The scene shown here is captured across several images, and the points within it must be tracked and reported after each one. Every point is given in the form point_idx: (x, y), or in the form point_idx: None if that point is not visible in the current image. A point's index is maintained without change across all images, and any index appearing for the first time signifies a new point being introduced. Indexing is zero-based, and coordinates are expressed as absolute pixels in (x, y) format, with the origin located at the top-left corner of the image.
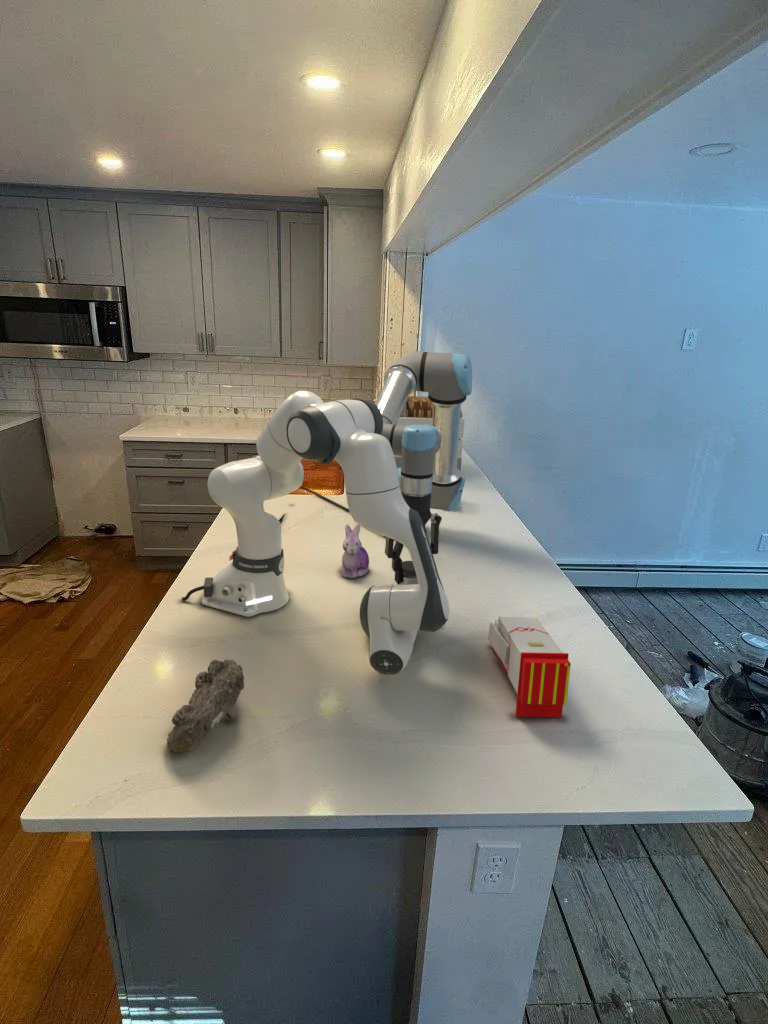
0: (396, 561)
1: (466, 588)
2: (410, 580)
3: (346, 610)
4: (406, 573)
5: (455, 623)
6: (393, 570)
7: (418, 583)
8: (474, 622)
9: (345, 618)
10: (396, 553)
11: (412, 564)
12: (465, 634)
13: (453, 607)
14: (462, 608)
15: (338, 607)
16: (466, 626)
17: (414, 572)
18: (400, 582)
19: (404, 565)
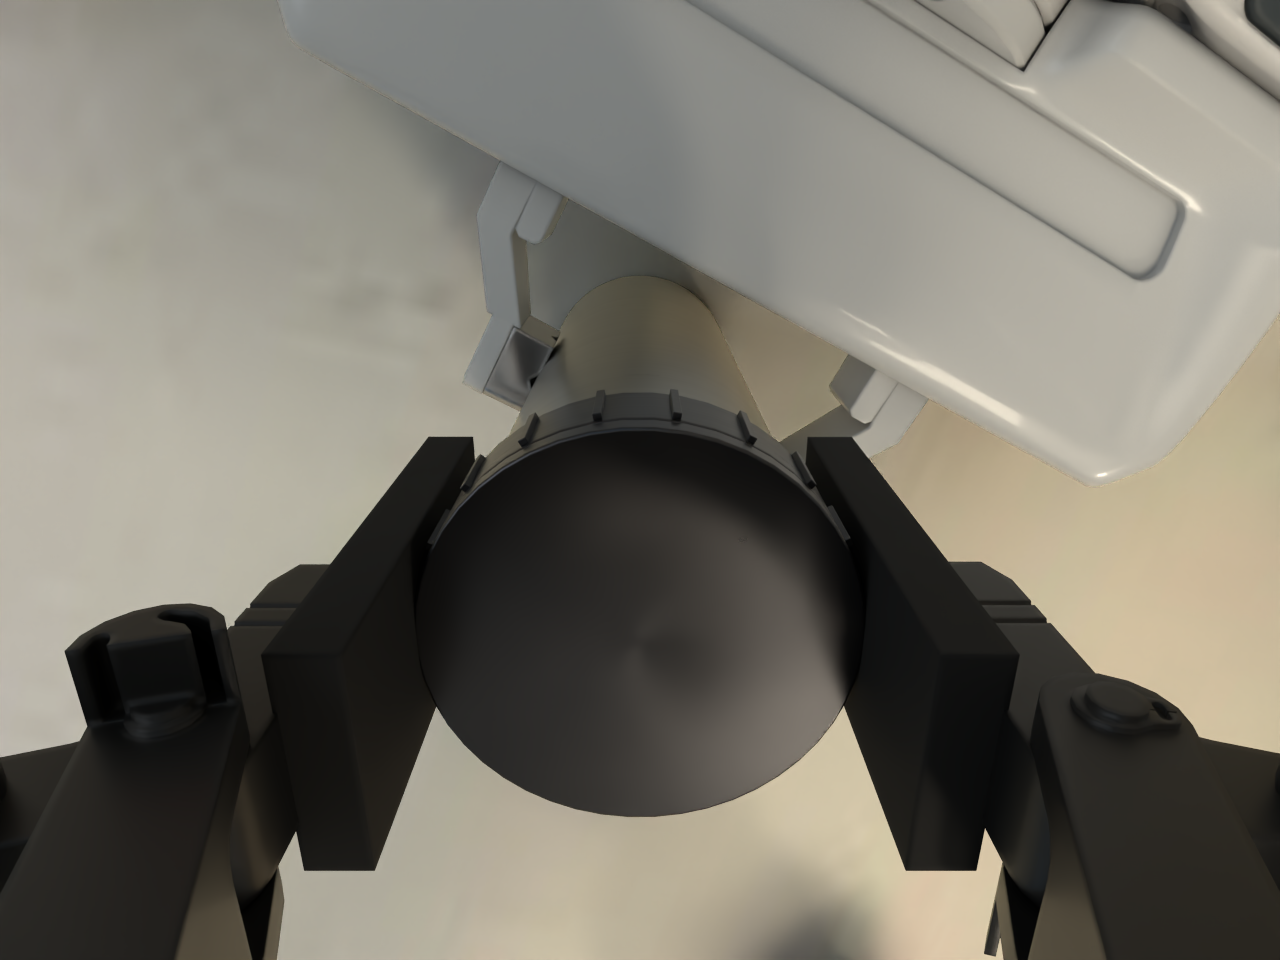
0: (1032, 677)
1: (24, 717)
2: (692, 393)
3: (1046, 600)
4: (783, 451)
5: (235, 225)
6: (987, 582)
7: (547, 395)
8: (55, 203)
9: (1104, 496)
10: (1226, 811)
11: (593, 673)
12: (184, 13)
13: (193, 476)
14: (118, 447)
15: (1084, 649)
16: (144, 152)
17: (642, 412)
18: (819, 445)
19: (758, 665)
